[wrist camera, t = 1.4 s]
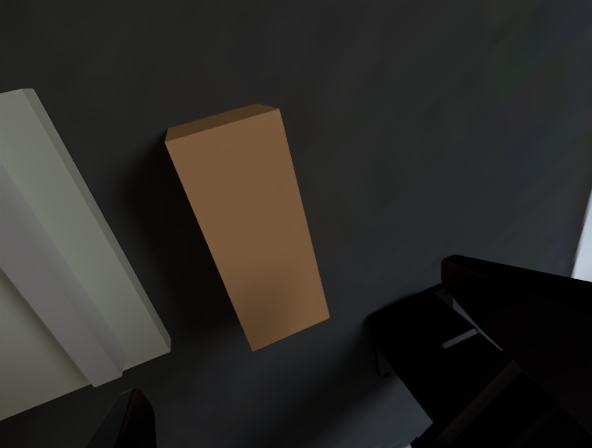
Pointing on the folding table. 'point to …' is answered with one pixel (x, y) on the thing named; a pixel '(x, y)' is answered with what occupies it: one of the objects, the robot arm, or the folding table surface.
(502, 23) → the folding table surface
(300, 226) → the chute block
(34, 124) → the deck plate
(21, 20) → the folding table surface
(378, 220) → the folding table surface
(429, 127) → the folding table surface
